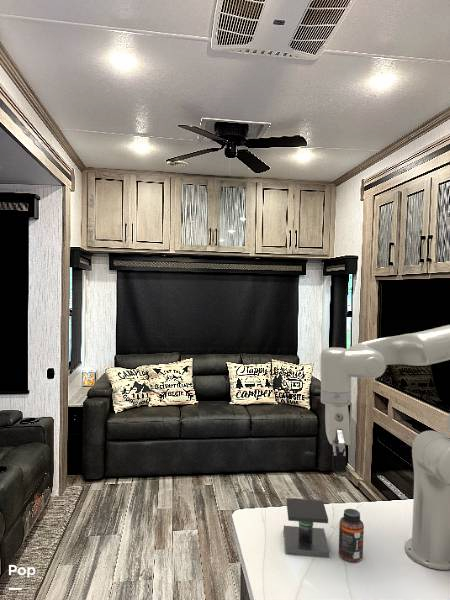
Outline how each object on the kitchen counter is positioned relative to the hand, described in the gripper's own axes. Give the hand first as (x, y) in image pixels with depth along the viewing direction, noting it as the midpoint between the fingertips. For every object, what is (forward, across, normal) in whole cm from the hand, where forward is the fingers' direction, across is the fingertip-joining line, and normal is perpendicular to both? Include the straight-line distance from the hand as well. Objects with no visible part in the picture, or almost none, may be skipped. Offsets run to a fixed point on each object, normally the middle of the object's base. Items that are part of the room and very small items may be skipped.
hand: (336, 463), depth 113 cm
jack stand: (+23, +3, +8) cm, 25 cm away
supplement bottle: (+24, -1, -4) cm, 24 cm away
